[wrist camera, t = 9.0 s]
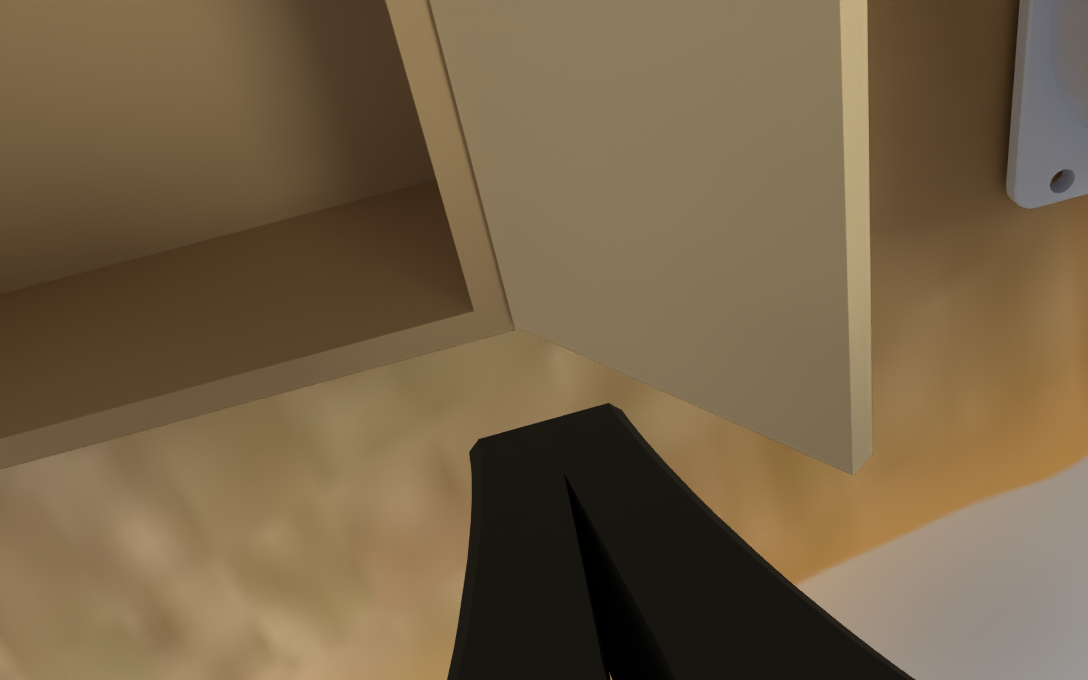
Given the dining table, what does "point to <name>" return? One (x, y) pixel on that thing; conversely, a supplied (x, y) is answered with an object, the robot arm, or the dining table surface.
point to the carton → (224, 208)
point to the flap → (684, 196)
